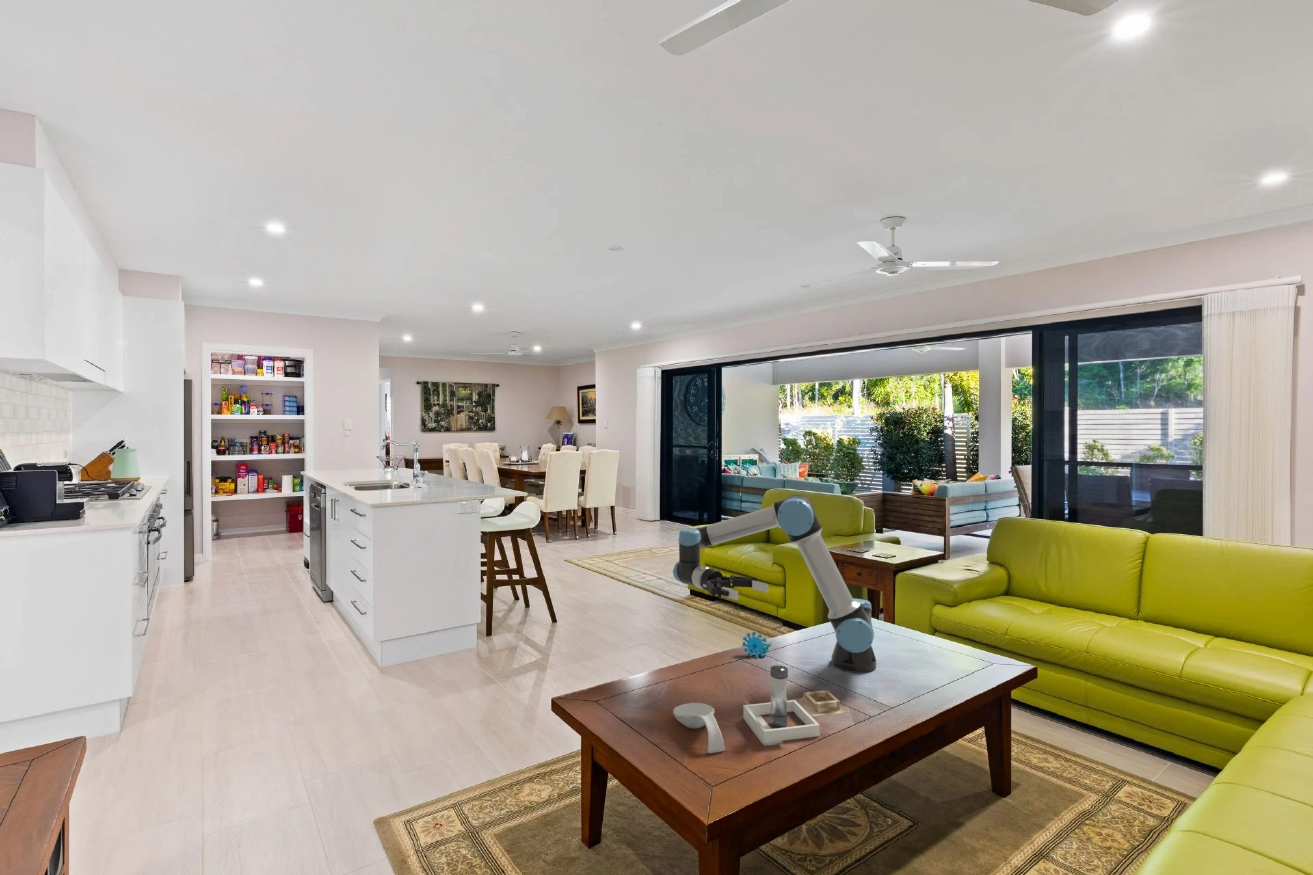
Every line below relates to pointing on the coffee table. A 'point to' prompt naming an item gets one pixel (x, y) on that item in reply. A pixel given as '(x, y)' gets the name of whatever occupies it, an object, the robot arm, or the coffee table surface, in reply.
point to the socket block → (821, 703)
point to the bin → (778, 735)
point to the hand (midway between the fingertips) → (752, 592)
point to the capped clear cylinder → (778, 696)
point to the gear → (755, 645)
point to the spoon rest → (701, 722)
